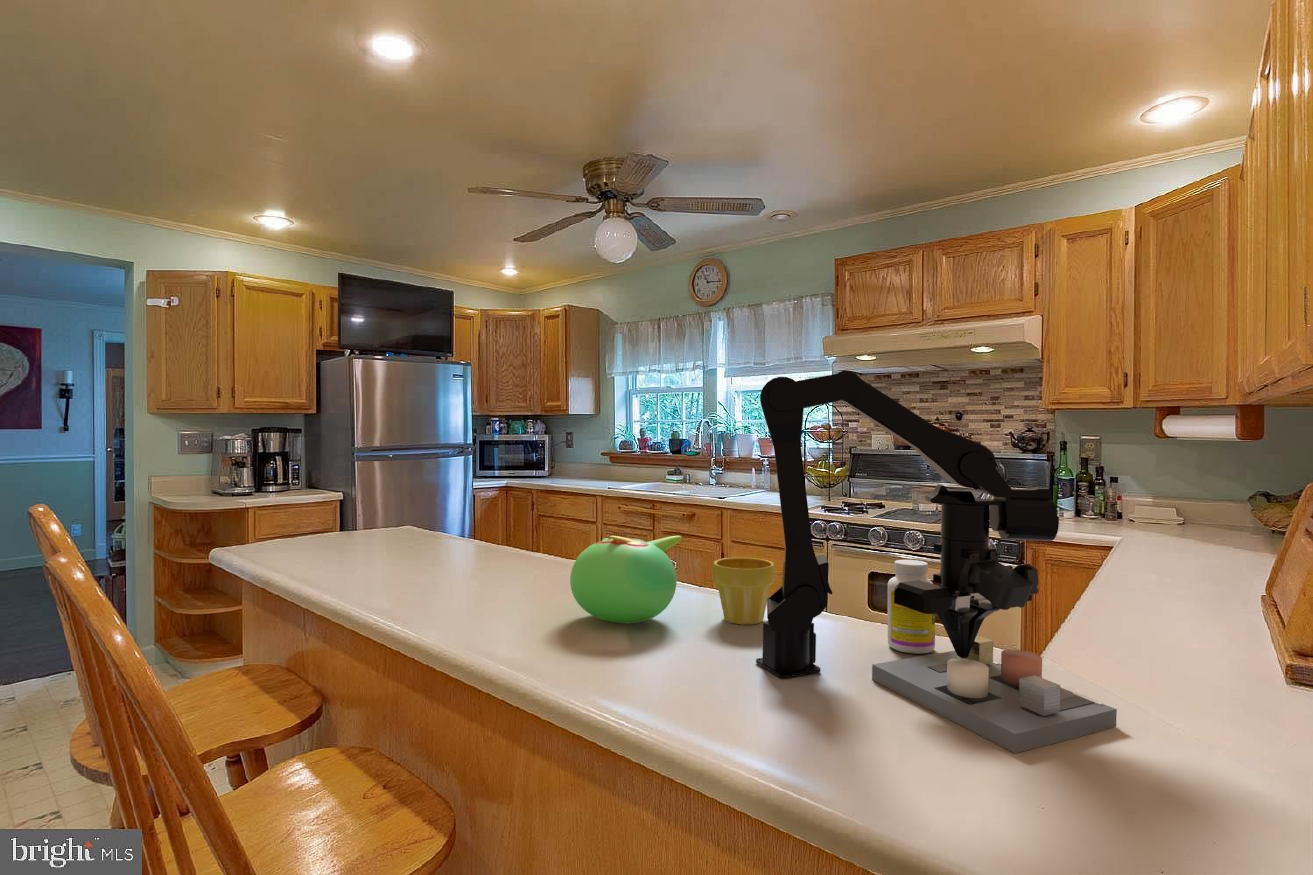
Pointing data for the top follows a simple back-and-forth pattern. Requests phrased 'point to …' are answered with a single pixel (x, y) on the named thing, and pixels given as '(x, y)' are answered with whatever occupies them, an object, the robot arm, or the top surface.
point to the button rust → (1019, 665)
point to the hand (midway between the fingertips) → (962, 656)
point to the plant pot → (743, 588)
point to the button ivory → (967, 678)
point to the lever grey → (1039, 695)
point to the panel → (993, 705)
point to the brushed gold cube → (981, 650)
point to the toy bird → (625, 578)
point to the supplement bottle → (909, 613)
